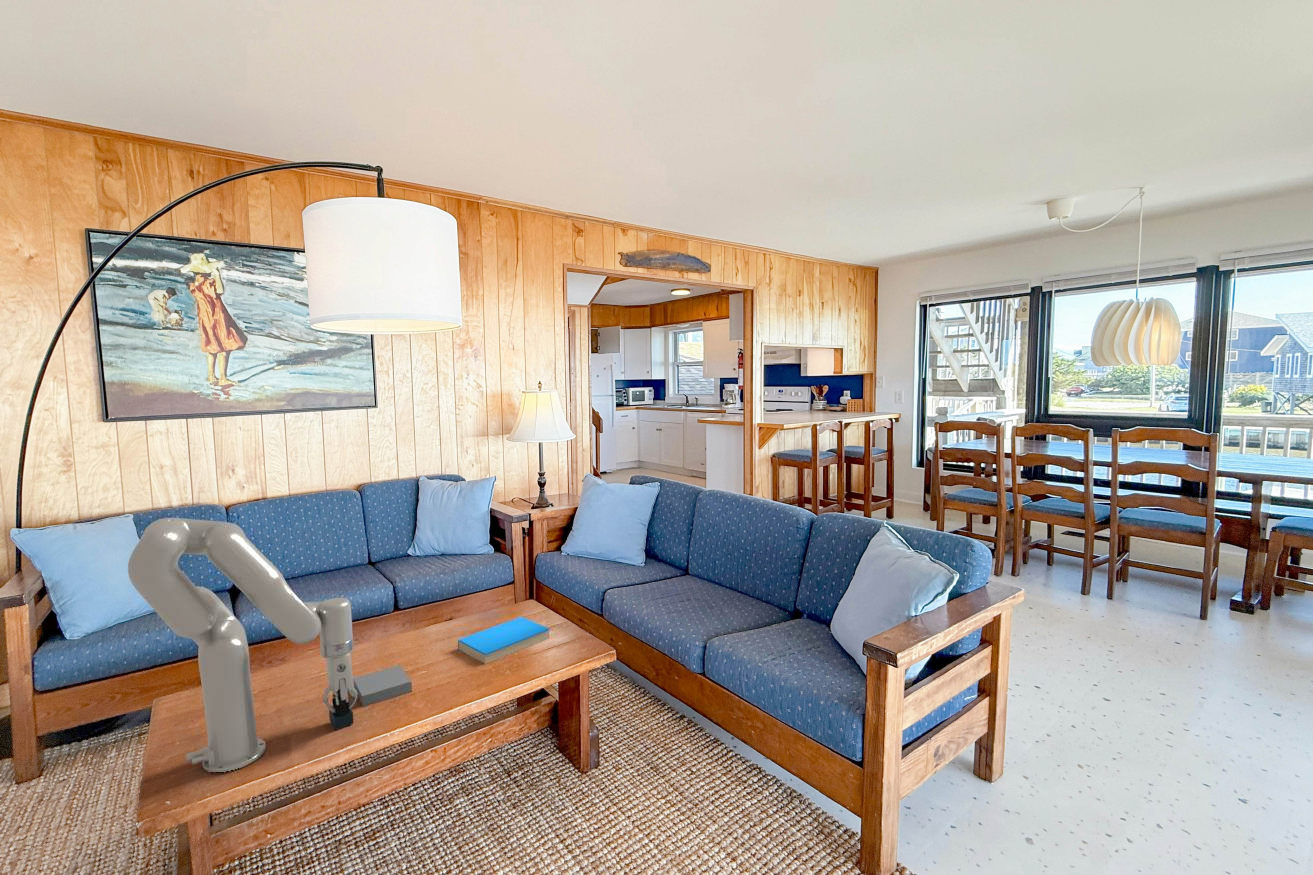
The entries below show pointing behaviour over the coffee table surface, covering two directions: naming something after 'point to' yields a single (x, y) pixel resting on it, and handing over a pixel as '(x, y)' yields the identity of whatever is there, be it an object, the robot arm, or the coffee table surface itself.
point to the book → (503, 639)
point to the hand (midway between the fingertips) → (341, 713)
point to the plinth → (382, 685)
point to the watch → (338, 720)
